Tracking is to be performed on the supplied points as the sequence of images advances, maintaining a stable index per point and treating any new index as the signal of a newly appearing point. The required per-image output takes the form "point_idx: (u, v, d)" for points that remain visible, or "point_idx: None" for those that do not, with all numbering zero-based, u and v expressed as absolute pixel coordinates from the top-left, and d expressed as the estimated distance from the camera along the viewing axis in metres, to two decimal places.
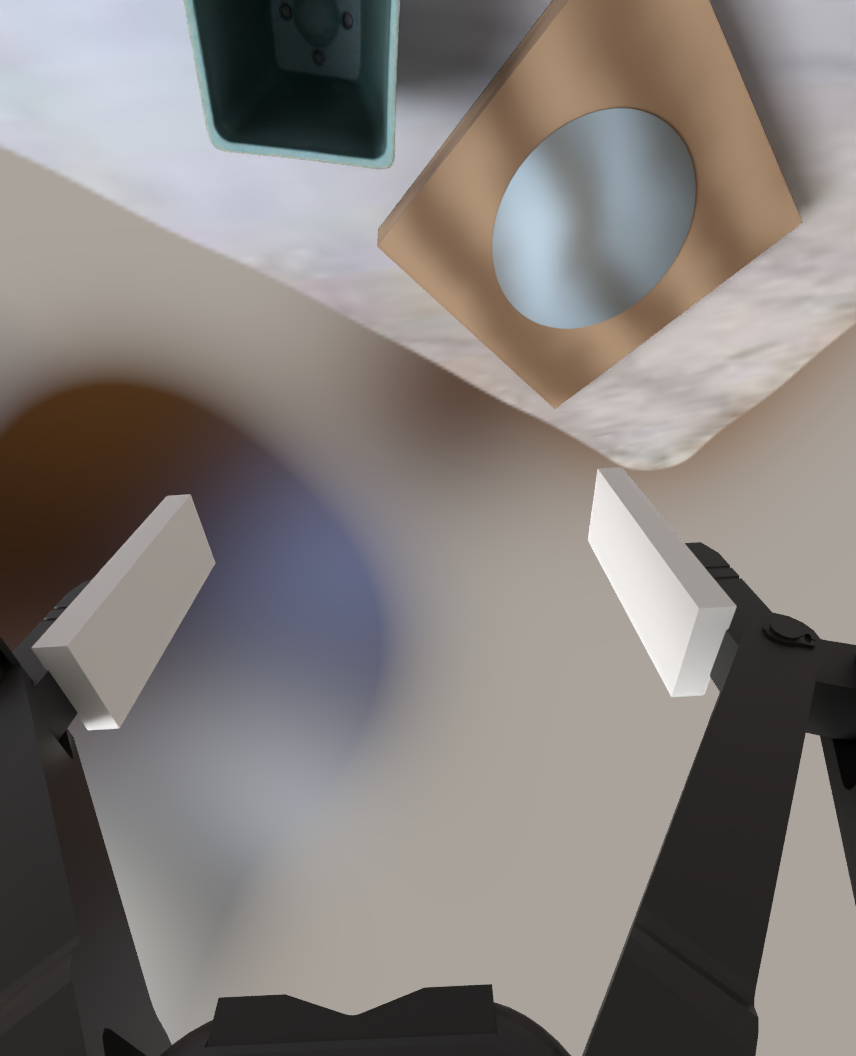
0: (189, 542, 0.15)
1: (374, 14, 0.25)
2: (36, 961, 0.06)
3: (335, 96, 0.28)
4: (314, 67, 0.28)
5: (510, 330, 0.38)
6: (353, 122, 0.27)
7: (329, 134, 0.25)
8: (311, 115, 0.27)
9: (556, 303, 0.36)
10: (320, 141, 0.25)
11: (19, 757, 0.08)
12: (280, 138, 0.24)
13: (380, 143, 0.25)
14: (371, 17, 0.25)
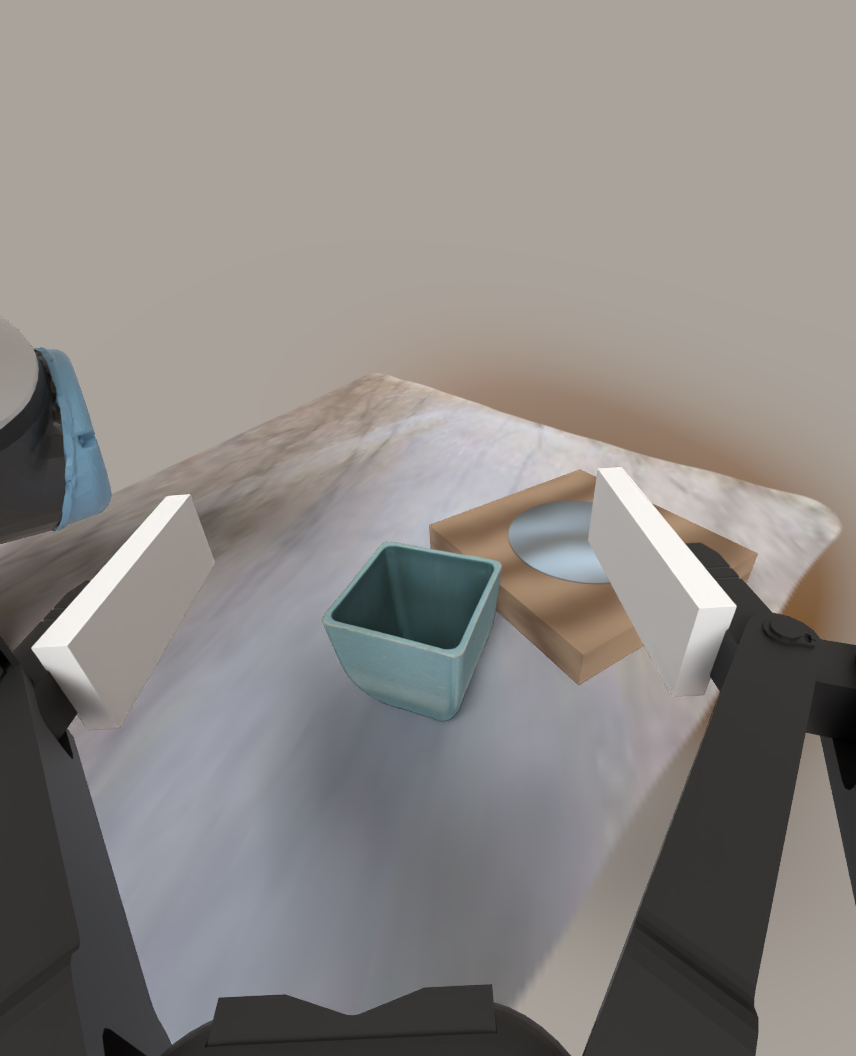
0: (189, 542, 0.15)
1: (434, 633, 0.37)
2: (36, 961, 0.06)
3: None
4: None
5: None
6: None
7: None
8: None
9: None
10: None
11: (20, 756, 0.08)
12: None
13: None
14: (435, 639, 0.37)
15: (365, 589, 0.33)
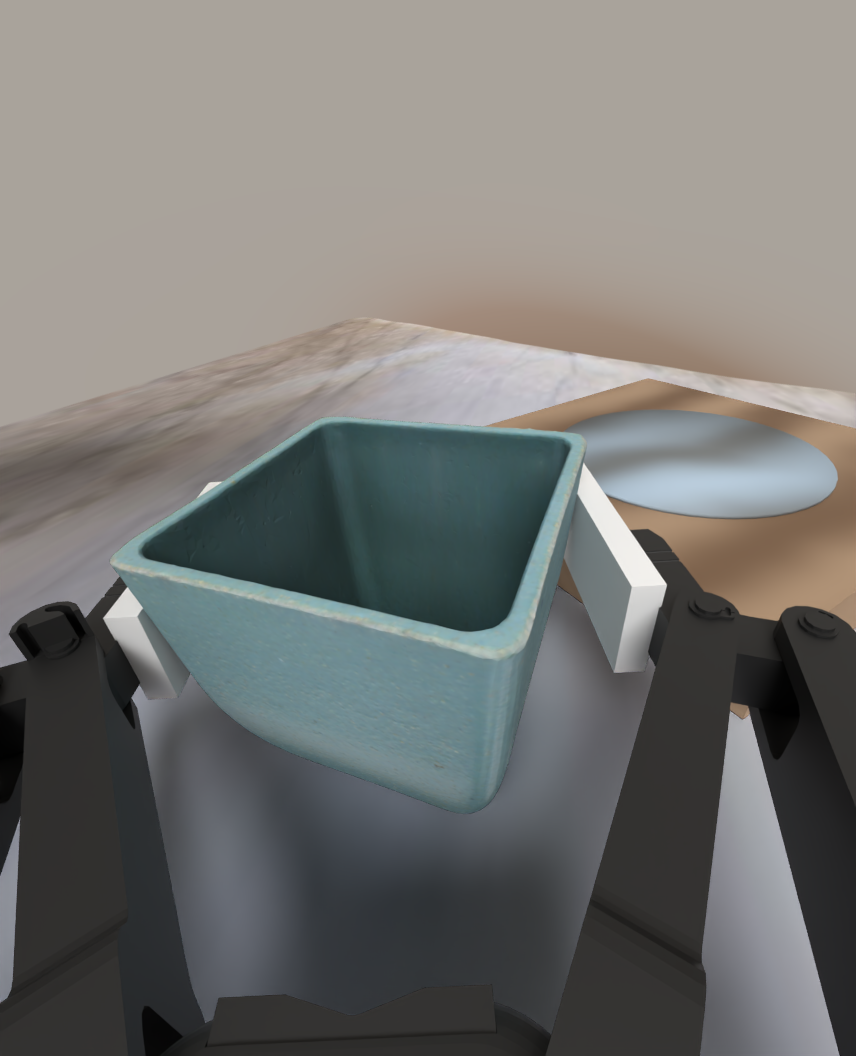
0: None
1: (429, 612, 0.18)
2: (88, 928, 0.06)
3: None
4: None
5: None
6: None
7: None
8: None
9: (791, 468, 0.23)
10: None
11: (88, 724, 0.09)
12: None
13: None
14: (432, 623, 0.18)
15: (269, 504, 0.14)
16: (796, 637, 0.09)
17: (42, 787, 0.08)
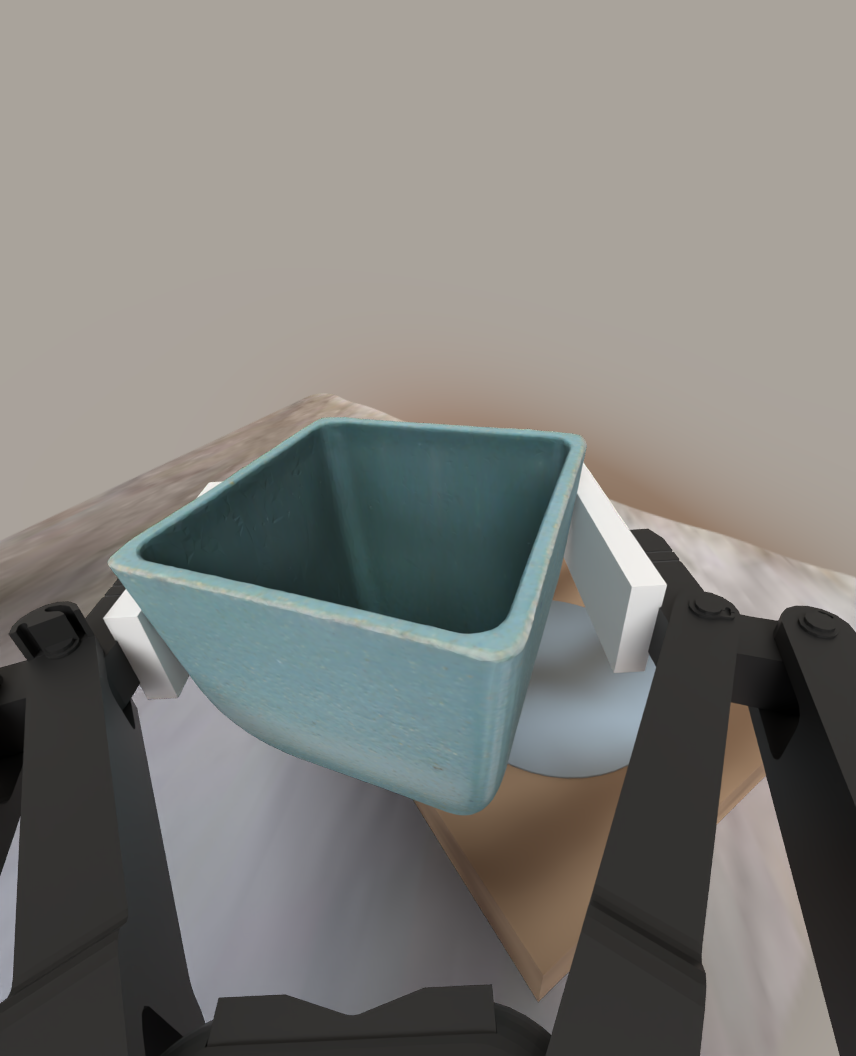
0: None
1: (429, 613, 0.18)
2: (88, 928, 0.06)
3: None
4: None
5: None
6: None
7: None
8: None
9: (631, 703, 0.27)
10: None
11: (88, 725, 0.09)
12: None
13: None
14: (432, 624, 0.18)
15: (268, 505, 0.14)
16: (796, 637, 0.09)
17: (42, 787, 0.08)
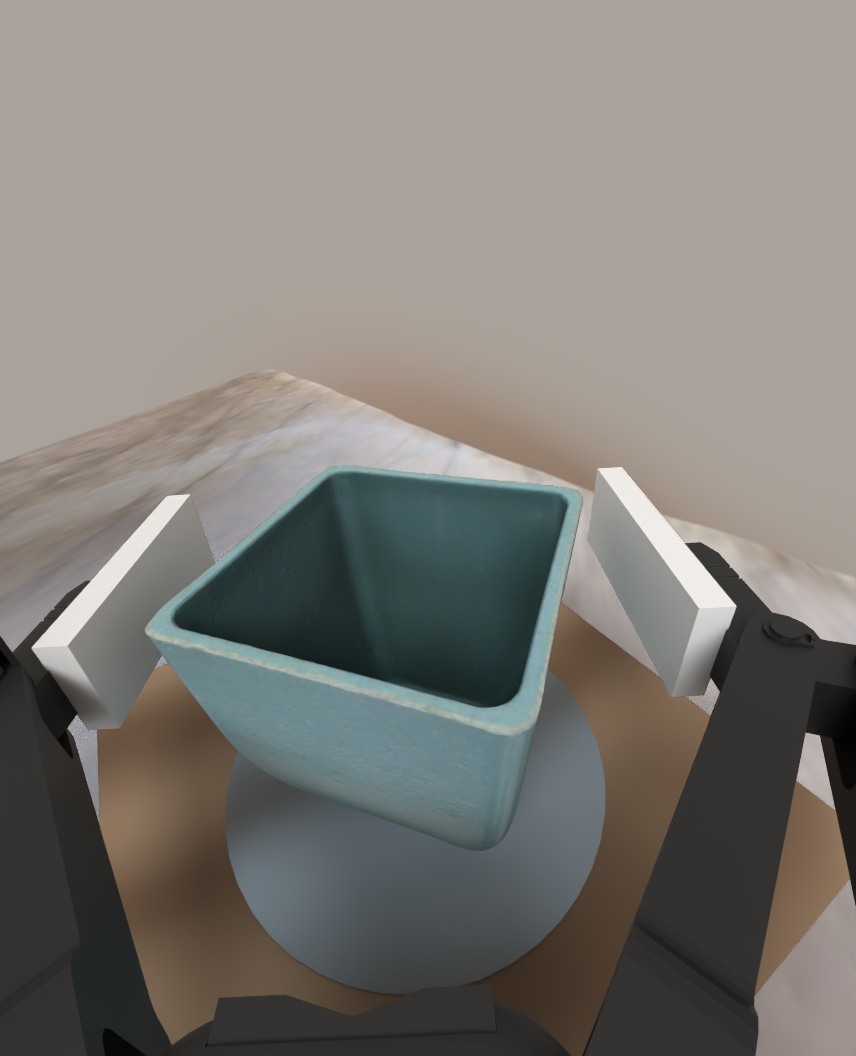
0: (189, 542, 0.15)
1: (433, 648, 0.19)
2: (36, 961, 0.06)
3: None
4: None
5: (613, 969, 0.12)
6: None
7: None
8: None
9: (539, 820, 0.15)
10: None
11: (20, 756, 0.08)
12: None
13: (554, 543, 0.15)
14: (436, 658, 0.19)
15: (284, 557, 0.15)
16: None
17: None
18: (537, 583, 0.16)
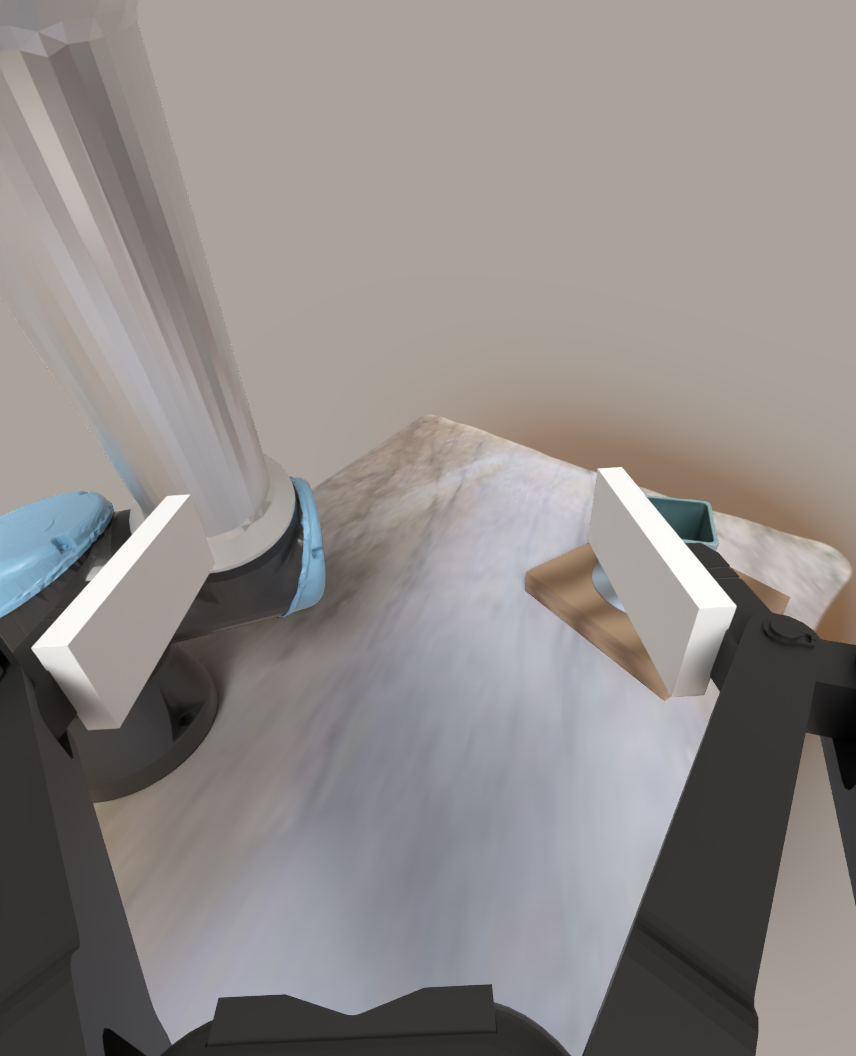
0: (189, 542, 0.15)
1: None
2: (36, 961, 0.06)
3: None
4: None
5: None
6: None
7: (701, 538, 0.53)
8: None
9: None
10: (705, 530, 0.52)
11: (20, 756, 0.08)
12: (707, 538, 0.50)
13: (700, 517, 0.54)
14: None
15: None
16: None
17: None
18: (692, 529, 0.55)
